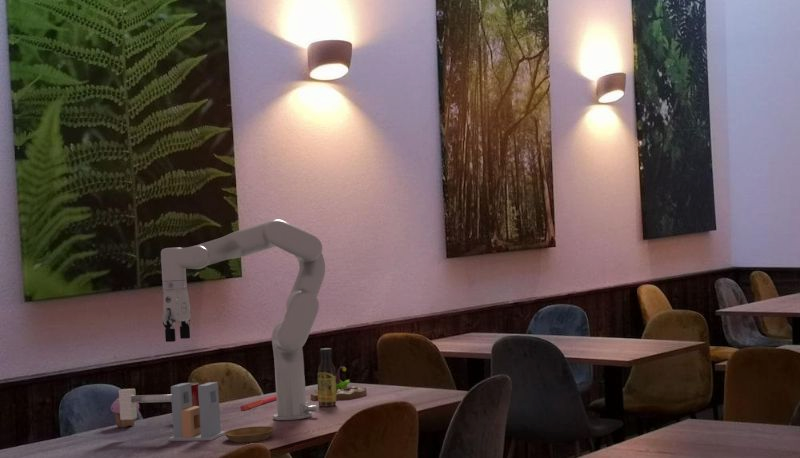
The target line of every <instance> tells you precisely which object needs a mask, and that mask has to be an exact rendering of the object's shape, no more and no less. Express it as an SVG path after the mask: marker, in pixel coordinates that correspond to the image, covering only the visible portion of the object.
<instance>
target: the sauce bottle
mask: <svg viewBox="0 0 800 458" xmlns="http://www.w3.org/2000/svg"><path fill="white" fill-rule="evenodd" d="M332 353H333V349H332V348H331V347H324V348H320V349H319V354H320V363H319V365H318V370H317V390H318V401H317V402H318V406H319V407H321V408H329V407H334V406H336V404H337V400H336V367H335V366H334V364H333V361H332V360H333V359H332Z"/></svg>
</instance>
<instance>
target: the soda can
mask: <svg viewBox="0 0 800 458" xmlns="http://www.w3.org/2000/svg"><path fill="white" fill-rule="evenodd" d="M190 383H191V393H192V407H193V406H199V395H198V386H199V385H200V383H199V382H190Z"/></svg>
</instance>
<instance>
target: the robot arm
mask: <svg viewBox="0 0 800 458" xmlns="http://www.w3.org/2000/svg"><path fill="white" fill-rule="evenodd" d="M275 247H277V248H279V249H281V250H283V251H285V252H287V253H288V254H291V255H293V256H294V257H295V258H296V259H297V260H298V265H299V269H298V273H297V275H296V279H295V281H294V283H293V286H292V289H291V291H290V293H289V295H288V297H287V299H286V303H285V308H286V313H285V314H284V317H283V319H282V321H279V322H278V323H277V324H276V325H274V327H273V329H272V331H271V332H272V333H271V345H272V351H273V359H274V360H273V362H274V364H273V365H274V378H275V379H274V381H275V396H276V397H277V400H276V410H277V411H276V412H277V413H274V414H273V415H272V419H273V420H275V421H296V420H302V419H308V418H311V417H312V416H313V415H312V414H313V412H314V413H316V412H317V413H318V411H319V407H318V406H319V405H310V402H309V401H307V394H306V380H305V379H306V378H305V362H304V361H305V360H304V351H303V347H304V346H305V344H306V342H307V340H308V338H309V335H310V334H311V331H312V328H313V325H314V324H315V321H316V319H317V316H318V313H319V307H320V306H319V305H320V304H319V303H320V302H319V300H318V295H319V293H320V290H321V287H322V284H323V281H324V280H325V275H326V264H325V263H326V261H325V258H324V255H323V253H322V252H323V245H322V242H321V240H320V239H319V238H318V237H317V236H315V235H313V234H312V233H309V232H307V231H305V230H303V229H301V228H299V227H297V226H294V225H292V224H291V223H288V222H287V221H284V220H283V219H273V220H270V221H266V222H262V223H259V224H256V225H253V226H250V227H246V228H243V229H240V230H236V231H233V232H231V233H228V234H226V235H224V236H222V237H219V238H216V239H212V240H209V241H206V242H202V243H200V244H197V245H193V246H188V247H187V246H186V247H180V246H179V247H166V248H162V249H161V251H160V262H161V263H160V264H161V280H162V292H163V298H162V301H163V302H162V304H163V307H162V309H163V314H162V315H161V320H162V325H163V329H164V335H165V337H164V338H165V342H166V343H172V342H176V340H177V339H176V329H175V328H174V327H175V325H176V322H177V323H179V324H180V326H179V336H180V339H184V340H185V339H190V338H191V331H190V330H191V329H190V325H191V322H190V321H191V317H192V311H191V306H190V305H191V304H190V296H189V292H188V286H187V282H188V281H187V269H191V270H192V269H194V270H195V269H196V270H201V269H203V268H205V267H207V266H211V265H213V264H217V263H220V262H223V261H227V260H232V259H240V258H242V257H247V256H250V255H253V254H256V253H259V252H262V251H265V250H269V249H272V248H275Z"/></svg>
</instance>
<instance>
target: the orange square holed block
mask: <svg viewBox="0 0 800 458" xmlns="http://www.w3.org/2000/svg"><path fill="white" fill-rule="evenodd" d="M181 418H182V434H183V437H194V436H196V435H199V434H201V428H200V412H199V406H193V407H190V408H187V409H184V410H181Z"/></svg>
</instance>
